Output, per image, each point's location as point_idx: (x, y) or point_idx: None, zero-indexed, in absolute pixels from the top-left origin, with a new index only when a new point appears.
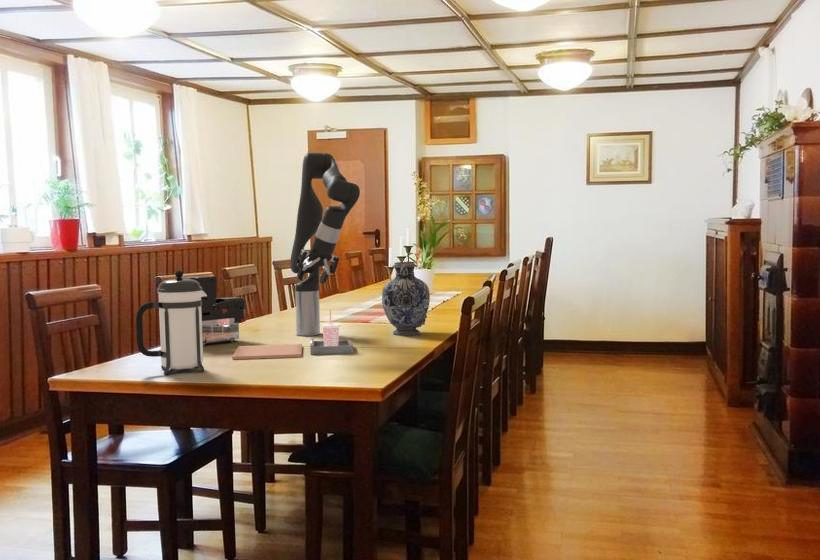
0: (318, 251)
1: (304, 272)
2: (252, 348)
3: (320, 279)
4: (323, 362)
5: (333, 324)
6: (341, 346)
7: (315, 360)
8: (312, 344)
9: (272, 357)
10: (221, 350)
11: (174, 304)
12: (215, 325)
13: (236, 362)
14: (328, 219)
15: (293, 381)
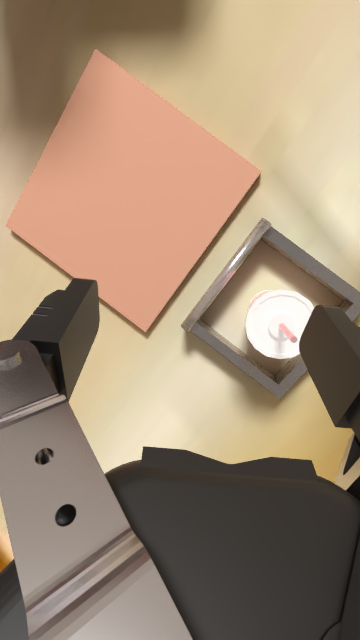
0: None
1: (69, 386)
2: (103, 133)
3: (322, 319)
4: (143, 424)
5: (285, 337)
6: (253, 378)
7: (145, 391)
8: (185, 329)
9: None
10: (52, 40)
11: None
12: None
13: (5, 268)
14: None
15: (3, 513)
